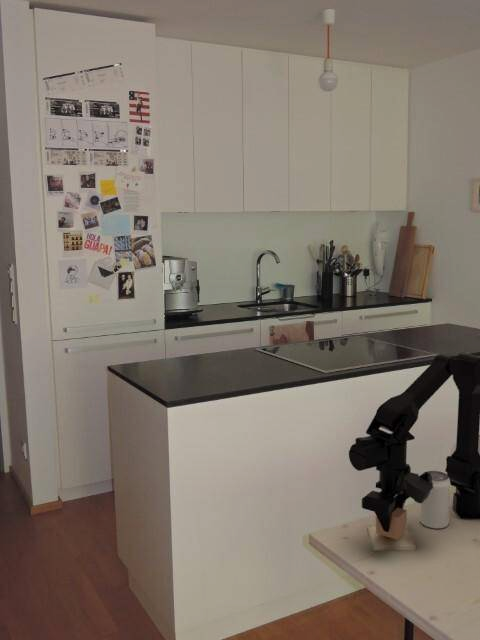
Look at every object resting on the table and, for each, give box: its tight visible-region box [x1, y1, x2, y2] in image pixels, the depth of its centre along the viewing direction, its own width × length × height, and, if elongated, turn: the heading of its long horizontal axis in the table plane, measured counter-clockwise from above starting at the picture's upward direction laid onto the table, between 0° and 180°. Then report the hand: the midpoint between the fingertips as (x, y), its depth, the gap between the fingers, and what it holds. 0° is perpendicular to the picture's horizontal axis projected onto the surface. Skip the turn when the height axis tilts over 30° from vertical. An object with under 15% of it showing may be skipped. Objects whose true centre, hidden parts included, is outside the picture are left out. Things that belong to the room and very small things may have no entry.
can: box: [419, 470, 451, 530], centre depth 153 cm, size 6×6×12 cm
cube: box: [375, 508, 408, 540], centre depth 146 cm, size 5×5×5 cm
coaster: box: [366, 525, 417, 551], centre depth 146 cm, size 9×9×1 cm
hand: (391, 526), depth 146 cm, fingers closed on cube, 5 cm apart
